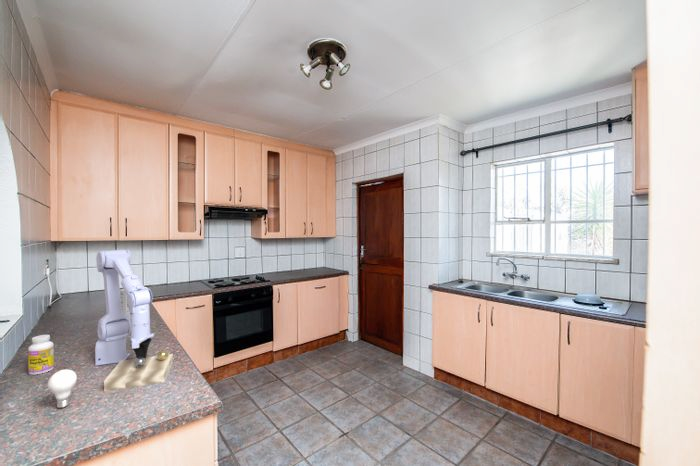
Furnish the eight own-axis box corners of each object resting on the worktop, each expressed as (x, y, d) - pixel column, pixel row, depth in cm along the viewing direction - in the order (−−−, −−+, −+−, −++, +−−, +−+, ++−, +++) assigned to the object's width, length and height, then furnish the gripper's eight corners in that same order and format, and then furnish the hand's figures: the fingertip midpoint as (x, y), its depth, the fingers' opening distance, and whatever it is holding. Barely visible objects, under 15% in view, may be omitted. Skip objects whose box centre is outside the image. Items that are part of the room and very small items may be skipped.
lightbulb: (61, 401, 94) (60, 365, 94) (83, 400, 95) (82, 365, 94) (42, 414, 88) (41, 376, 87) (65, 413, 88) (64, 375, 88)
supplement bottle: (24, 377, 109) (23, 341, 109) (33, 369, 115) (32, 335, 115) (50, 373, 112) (49, 338, 112) (57, 365, 118) (56, 332, 118)
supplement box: (125, 321, 172) (125, 291, 172) (116, 318, 176) (115, 289, 176) (143, 316, 181) (143, 288, 181) (134, 314, 185) (133, 286, 185)
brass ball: (156, 362, 113) (156, 353, 113) (158, 358, 116) (158, 349, 116) (167, 361, 114) (167, 351, 114) (169, 357, 117) (168, 348, 117)
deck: (104, 391, 100) (103, 380, 100) (121, 369, 115) (120, 360, 115) (164, 382, 106) (164, 372, 106) (173, 362, 121) (172, 353, 121)
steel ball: (134, 356, 110) (135, 365, 111) (132, 361, 107) (133, 370, 107) (146, 354, 111) (147, 363, 112) (144, 358, 108) (145, 368, 109)
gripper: (148, 328, 105) (149, 367, 105) (157, 316, 118) (159, 351, 119) (123, 331, 102) (125, 371, 103) (136, 318, 116) (137, 354, 116)
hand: (141, 360), depth 111 cm, fingers closed, pressing on steel ball
